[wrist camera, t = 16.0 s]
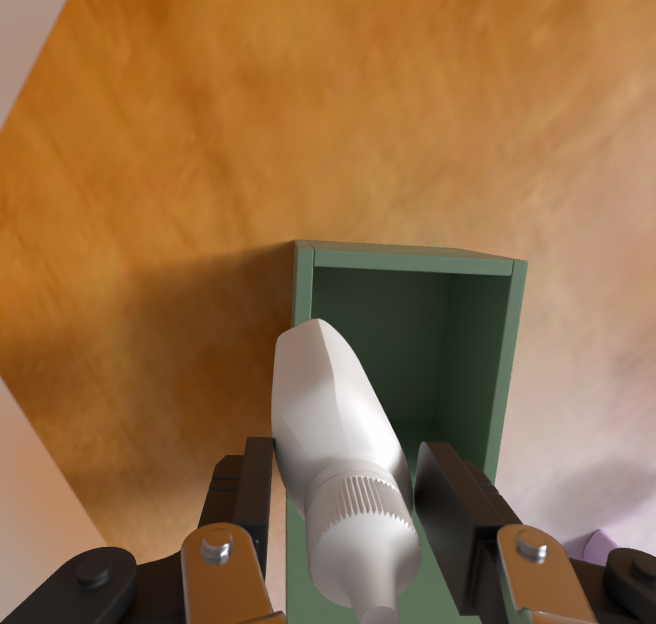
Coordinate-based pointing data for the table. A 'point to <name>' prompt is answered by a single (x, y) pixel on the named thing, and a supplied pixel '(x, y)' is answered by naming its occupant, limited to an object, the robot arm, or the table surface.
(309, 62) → the table surface
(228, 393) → the table surface
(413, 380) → the chest
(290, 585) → the lid
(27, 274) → the table surface
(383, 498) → the eye dropper bottle
